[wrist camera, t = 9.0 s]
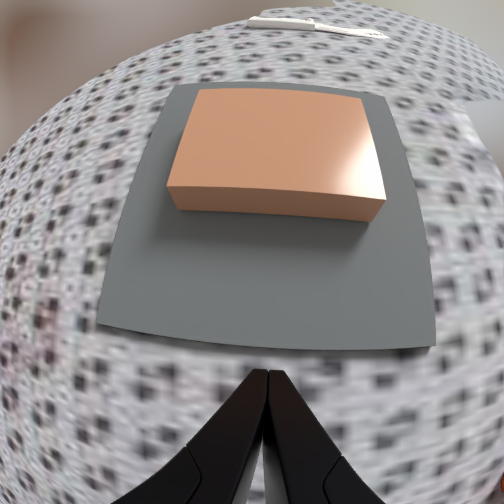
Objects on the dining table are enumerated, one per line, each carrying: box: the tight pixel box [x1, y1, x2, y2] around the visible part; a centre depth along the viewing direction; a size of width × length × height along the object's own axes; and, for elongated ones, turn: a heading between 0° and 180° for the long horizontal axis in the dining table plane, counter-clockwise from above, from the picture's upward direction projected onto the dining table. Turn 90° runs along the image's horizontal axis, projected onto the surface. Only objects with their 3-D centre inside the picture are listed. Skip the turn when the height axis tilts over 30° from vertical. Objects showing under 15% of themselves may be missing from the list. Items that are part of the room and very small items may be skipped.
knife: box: [247, 16, 388, 38], centre depth 32 cm, size 31×6×2 cm, turn 98°
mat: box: [96, 82, 436, 350], centre depth 20 cm, size 24×22×1 cm
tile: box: [166, 88, 386, 222], centre depth 19 cm, size 3×13×10 cm
